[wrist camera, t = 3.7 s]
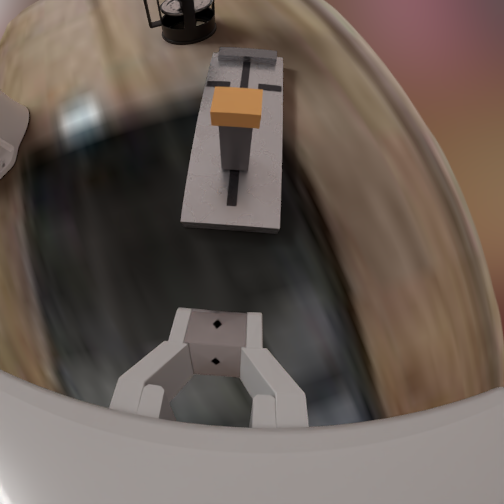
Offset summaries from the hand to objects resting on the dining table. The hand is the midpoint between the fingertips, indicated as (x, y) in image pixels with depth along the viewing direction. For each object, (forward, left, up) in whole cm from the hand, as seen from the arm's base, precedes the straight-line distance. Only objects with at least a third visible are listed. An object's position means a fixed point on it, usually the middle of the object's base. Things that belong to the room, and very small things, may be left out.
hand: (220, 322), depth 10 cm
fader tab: (+12, +10, -17) cm, 23 cm away
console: (+16, +14, -19) cm, 29 cm away
